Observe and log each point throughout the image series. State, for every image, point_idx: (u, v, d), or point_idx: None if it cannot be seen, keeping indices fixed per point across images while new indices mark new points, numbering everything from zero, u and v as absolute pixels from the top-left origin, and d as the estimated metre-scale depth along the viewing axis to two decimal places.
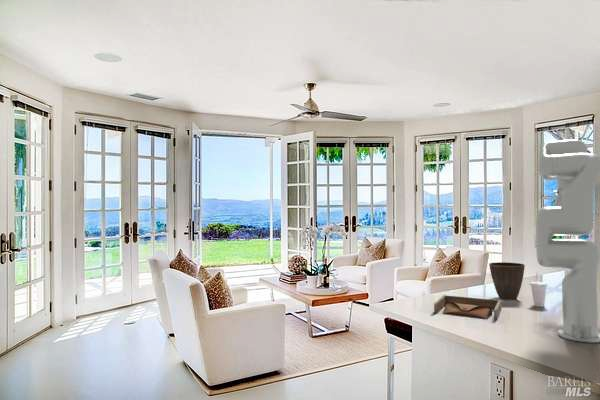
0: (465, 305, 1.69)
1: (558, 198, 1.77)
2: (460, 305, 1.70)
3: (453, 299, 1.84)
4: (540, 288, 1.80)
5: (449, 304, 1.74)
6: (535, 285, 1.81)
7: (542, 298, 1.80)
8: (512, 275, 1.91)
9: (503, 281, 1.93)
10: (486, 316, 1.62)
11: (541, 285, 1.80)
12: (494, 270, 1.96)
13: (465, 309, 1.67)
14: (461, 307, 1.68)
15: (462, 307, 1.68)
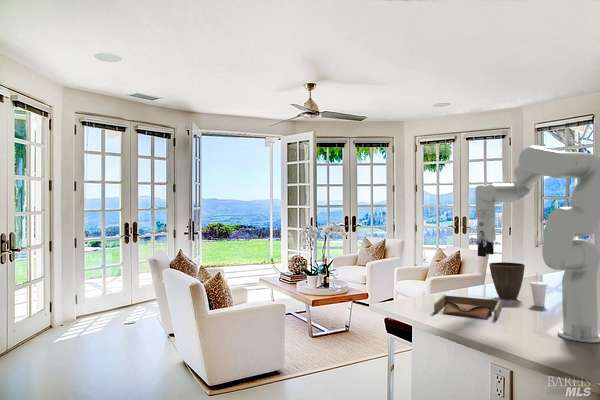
0: (465, 305, 1.69)
1: (488, 220, 1.74)
2: (460, 305, 1.69)
3: (453, 299, 1.84)
4: (540, 288, 1.80)
5: (449, 304, 1.73)
6: (535, 285, 1.81)
7: (542, 298, 1.80)
8: (512, 275, 1.91)
9: (503, 281, 1.93)
10: (485, 316, 1.62)
11: (541, 285, 1.80)
12: (494, 270, 1.96)
13: (464, 309, 1.66)
14: (460, 307, 1.68)
15: (461, 307, 1.68)
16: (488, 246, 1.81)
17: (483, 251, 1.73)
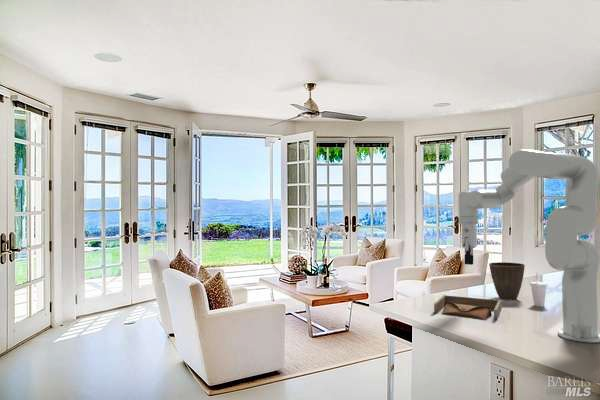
0: (464, 305, 1.69)
1: (473, 226, 1.74)
2: (459, 305, 1.69)
3: (453, 299, 1.84)
4: (540, 288, 1.80)
5: (448, 304, 1.73)
6: (535, 285, 1.81)
7: (542, 298, 1.80)
8: (512, 275, 1.91)
9: (503, 281, 1.93)
10: (485, 317, 1.61)
11: (541, 285, 1.80)
12: (494, 270, 1.96)
13: (464, 309, 1.66)
14: (460, 307, 1.68)
15: (461, 307, 1.68)
16: None
17: (470, 259, 1.76)
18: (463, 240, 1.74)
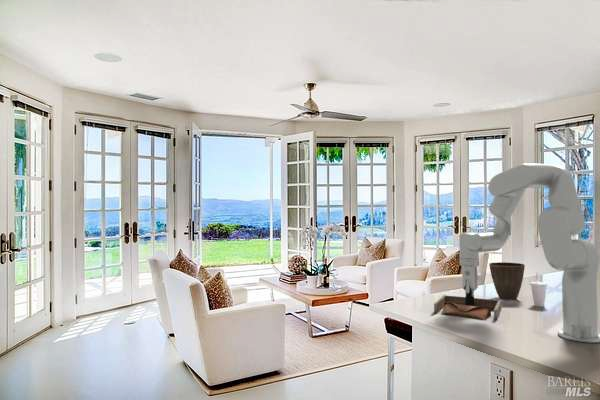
0: (464, 306, 1.68)
1: (474, 268, 1.73)
2: (458, 306, 1.69)
3: (453, 299, 1.84)
4: (540, 288, 1.80)
5: (448, 305, 1.73)
6: (535, 285, 1.81)
7: (542, 298, 1.80)
8: (512, 275, 1.91)
9: (503, 281, 1.93)
10: (484, 317, 1.61)
11: (541, 285, 1.80)
12: (494, 270, 1.96)
13: (463, 310, 1.65)
14: (459, 308, 1.67)
15: (460, 308, 1.67)
16: None
17: (471, 301, 1.76)
18: (464, 283, 1.74)
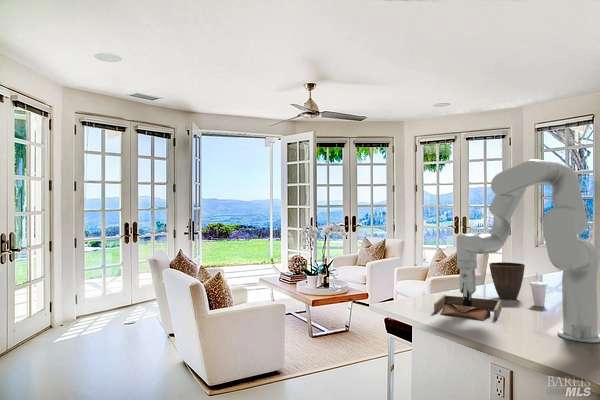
0: (463, 307, 1.67)
1: (471, 271, 1.67)
2: (458, 306, 1.68)
3: (453, 299, 1.84)
4: (540, 288, 1.80)
5: (447, 305, 1.72)
6: (535, 285, 1.81)
7: (542, 298, 1.80)
8: (512, 275, 1.91)
9: (503, 281, 1.93)
10: (483, 318, 1.60)
11: (541, 285, 1.80)
12: (494, 270, 1.96)
13: (462, 311, 1.65)
14: (458, 309, 1.66)
15: (459, 309, 1.66)
16: None
17: (469, 305, 1.70)
18: (461, 286, 1.68)
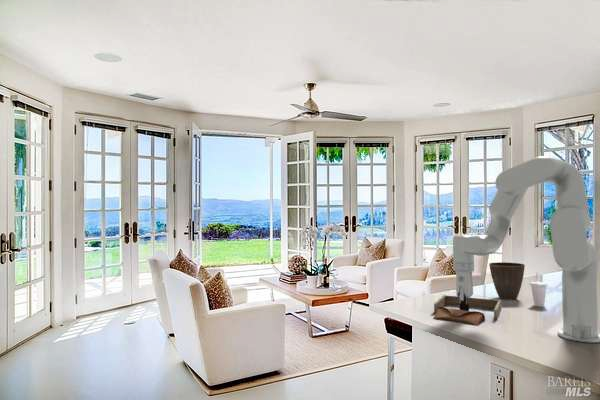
0: (456, 310, 1.61)
1: (468, 274, 1.60)
2: (451, 310, 1.62)
3: (453, 299, 1.84)
4: (540, 288, 1.80)
5: (440, 309, 1.66)
6: (535, 285, 1.81)
7: (542, 298, 1.80)
8: (512, 275, 1.91)
9: (503, 281, 1.93)
10: (477, 322, 1.54)
11: (541, 285, 1.80)
12: (494, 270, 1.96)
13: (456, 314, 1.58)
14: (452, 312, 1.60)
15: (453, 312, 1.60)
16: None
17: (466, 309, 1.63)
18: (458, 289, 1.61)
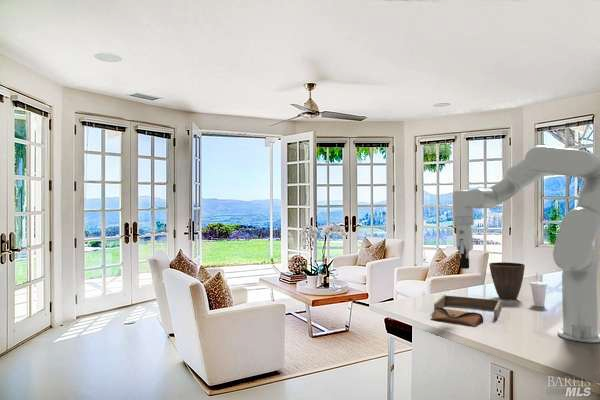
0: (454, 311, 1.60)
1: (468, 227, 1.62)
2: (449, 311, 1.60)
3: (453, 299, 1.84)
4: (540, 288, 1.80)
5: (438, 310, 1.64)
6: (535, 285, 1.81)
7: (542, 298, 1.80)
8: (512, 275, 1.91)
9: (503, 281, 1.93)
10: (475, 323, 1.52)
11: (541, 285, 1.80)
12: (494, 270, 1.96)
13: (453, 315, 1.57)
14: (449, 313, 1.59)
15: (451, 313, 1.59)
16: None
17: (466, 263, 1.65)
18: (458, 242, 1.63)
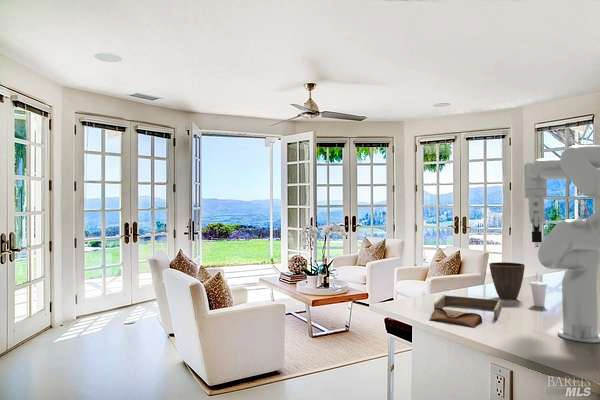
0: (453, 312, 1.59)
1: (543, 199, 1.57)
2: (448, 311, 1.59)
3: (453, 299, 1.84)
4: (540, 288, 1.80)
5: (437, 310, 1.64)
6: (535, 285, 1.81)
7: (542, 298, 1.80)
8: (512, 275, 1.91)
9: (503, 281, 1.93)
10: (473, 324, 1.51)
11: (541, 285, 1.80)
12: (494, 270, 1.96)
13: (452, 316, 1.56)
14: (448, 314, 1.58)
15: (449, 314, 1.58)
16: None
17: (539, 236, 1.60)
18: (532, 215, 1.58)
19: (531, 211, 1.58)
